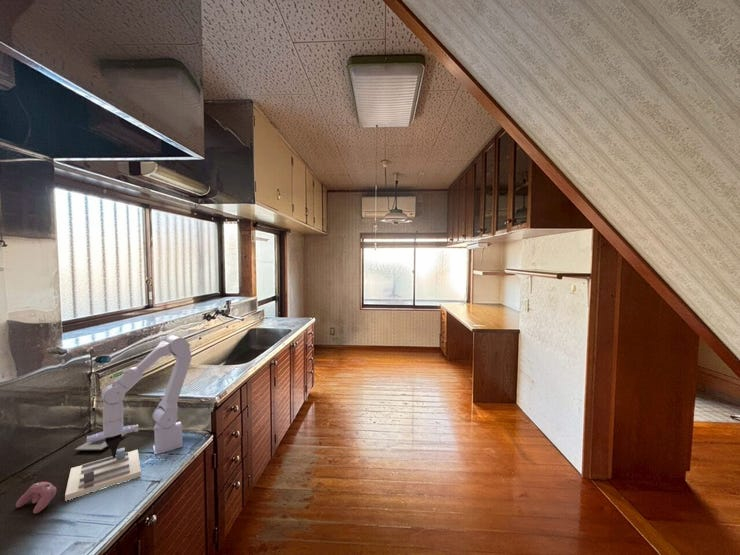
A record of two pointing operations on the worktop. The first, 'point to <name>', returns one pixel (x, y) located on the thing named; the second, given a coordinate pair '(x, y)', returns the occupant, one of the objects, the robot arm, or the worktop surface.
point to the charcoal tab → (89, 475)
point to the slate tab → (120, 453)
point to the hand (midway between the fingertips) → (114, 456)
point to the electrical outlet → (94, 445)
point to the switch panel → (103, 474)
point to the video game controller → (38, 495)
